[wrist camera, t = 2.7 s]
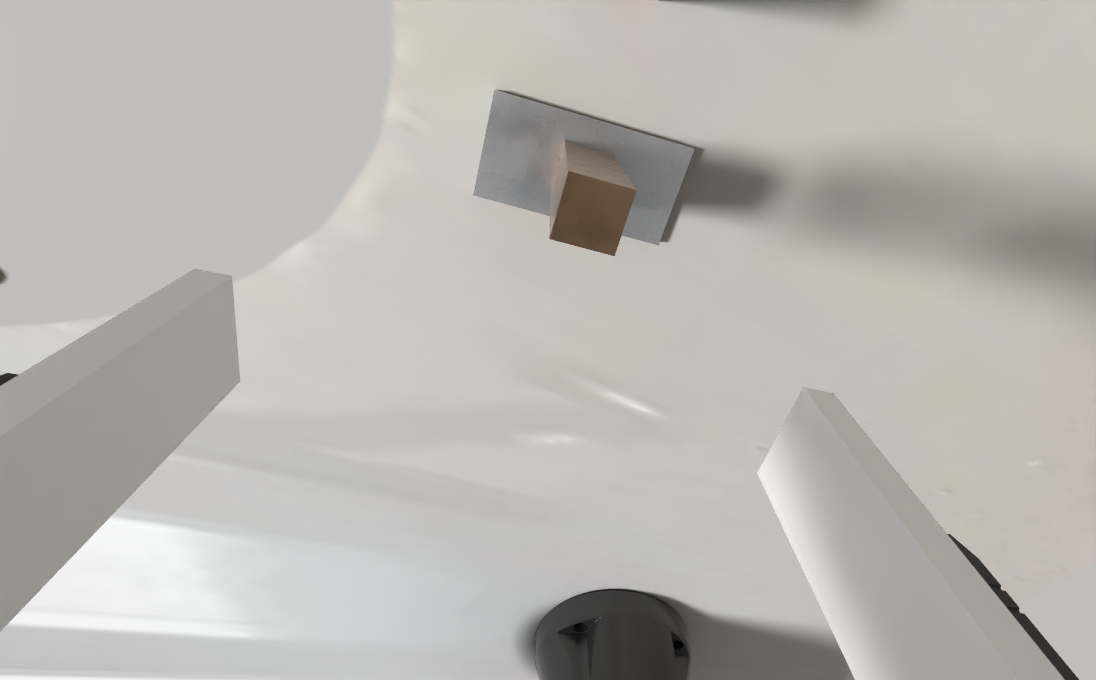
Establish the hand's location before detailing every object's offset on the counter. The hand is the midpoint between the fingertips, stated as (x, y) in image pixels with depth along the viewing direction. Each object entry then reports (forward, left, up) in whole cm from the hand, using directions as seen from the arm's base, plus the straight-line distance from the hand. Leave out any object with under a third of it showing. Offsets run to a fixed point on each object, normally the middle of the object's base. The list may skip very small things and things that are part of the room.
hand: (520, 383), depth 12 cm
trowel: (-2, -1, -23) cm, 23 cm away
